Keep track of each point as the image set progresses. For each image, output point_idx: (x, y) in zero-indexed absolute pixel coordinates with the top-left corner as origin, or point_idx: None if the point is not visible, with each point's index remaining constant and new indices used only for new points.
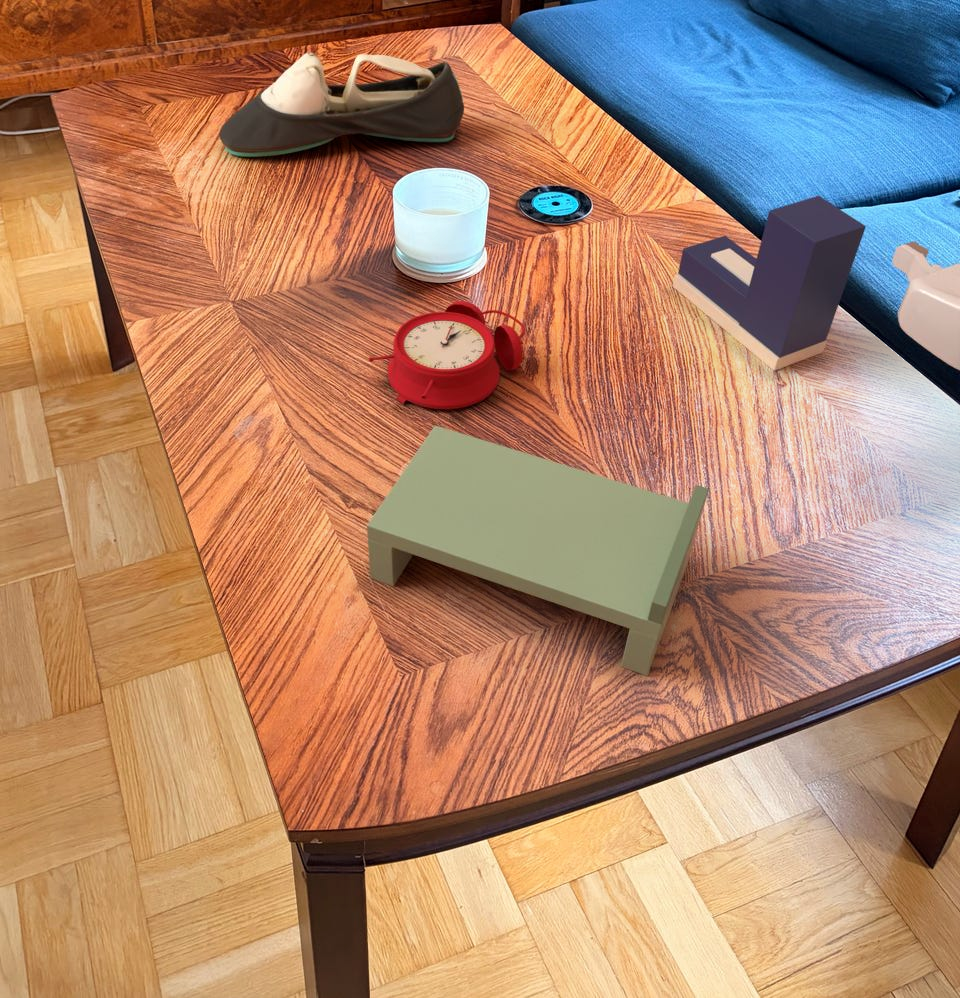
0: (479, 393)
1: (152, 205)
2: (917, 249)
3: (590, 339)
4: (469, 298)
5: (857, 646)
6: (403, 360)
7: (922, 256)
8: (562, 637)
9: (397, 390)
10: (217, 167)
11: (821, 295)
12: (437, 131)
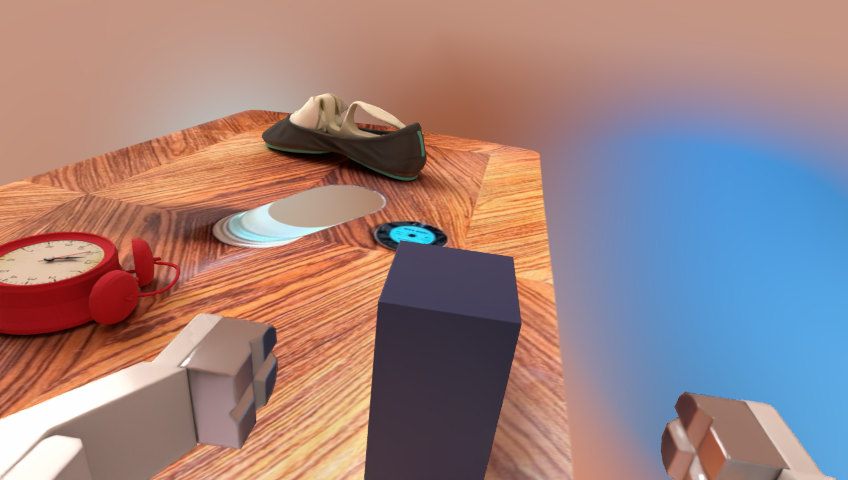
0: (17, 324)
1: (177, 147)
2: (209, 350)
3: None
4: (216, 259)
5: None
6: None
7: (147, 379)
8: None
9: None
10: (248, 147)
11: (433, 424)
12: (390, 167)
